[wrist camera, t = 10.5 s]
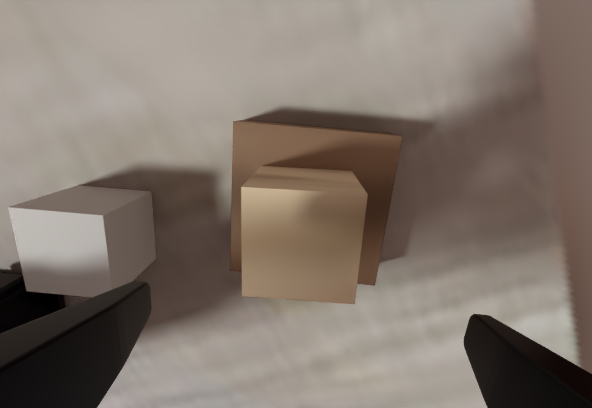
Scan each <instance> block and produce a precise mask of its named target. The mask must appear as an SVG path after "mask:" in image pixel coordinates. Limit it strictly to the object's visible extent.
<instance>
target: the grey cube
mask: <svg viewBox="0 0 592 408" xmlns="http://www.w3.org/2000/svg"><path fill="white" fill-rule="evenodd" d="M8 208H9V213H10V218H11V222H12V227H13V231H14V236H15V241H16V245H17V250H18V254H19V259H20V264H21V268H22V273H23V277H24V282H25V287H26V291H29V292H40V293H50V294H61V295H71V296H82V297H94V296H97V295H99V294H102V293H105V292H107V291H110V290H112V289H115V288H117V287H120V286H122V285H125V284H127V283H130V282H132V281H133V280H134V279H135V278H136V277H137V276H139V275H140V274H141V273H142V272H143V271H144V270H145V269H146V268H147V267H148V266H149V265H150V264H151V263H152V262H153V261H154V260H156V248H155V234H154V220H153V205H152V191H140V190H129V189H117V188H105V187H93V186H81V185H78V186H74V187H71V188H68V189H65V190H62V191H59V192H55V193H52V194H49V195H46V196H43V197H39V198H36V199H33V200H30V201H27V202H23V203H20V204H17V205H14V206H11V207H8Z"/></svg>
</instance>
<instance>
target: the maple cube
mask: <svg viewBox="0 0 592 408" xmlns="http://www.w3.org/2000/svg"><path fill="white" fill-rule="evenodd" d="M367 196H368V194H367V192H366V191H365V189H364V188H363V187H362V185H361V184H360V182H359V181H358V179H357V178H356V176H355V175H354V173H353V172H352V171H343V170H325V169H307V168H289V167H271V166H261V167H260V168H259V169H258V170H257V171H256V172H255V173H254V174H253V175H252V176H251V177H250V178H249V179H248V180H247V181H246V182H245V183H244V184H243V186H242V187H241V242H242V296H247V297H261V298H276V299H290V300H304V301H318V302H332V303H346V304H355V297H356V288H357V280H358V272H359V263H360V255H361V247H362V238H363V230H364V221H365V213H366V205H367Z"/></svg>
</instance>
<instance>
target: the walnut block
mask: <svg viewBox="0 0 592 408" xmlns="http://www.w3.org/2000/svg"><path fill="white" fill-rule="evenodd" d="M401 141H402V136H399V135H395V134H392V133H383V132H371V131H360V130H349V129H338V128H327V127H316V126H304V125H293V124H282V123H271V122H260V121H249V120H240V121H233V160H232V204H231V248H230V271H239V272H242V242H241V187H242V186H243V184H244V183H245V182H246V181H247V180H248V179H249V178H250V177H251V176H252V175H253V174H254V173H255V172H256V171H257V170H258V169H259V168H260V167H261V166H271V167H289V168H307V169H325V170H343V171H352V172H353V173H354V175H355V176H356V178H357V179H358V181H359V182H360V184H361V185H362V187H363V188H364V189H365V191H366V192H367V194H368V196H367V205H366V213H365V221H364V230H363V238H362V247H361V255H360V263H359V272H358V280H357V284H365V285H375V282H376V277H377V271H378V266H379V261H380V255H381V250H382V244H383V239H384V233H385V228H386V223H387V217H388V212H389V206H390V201H391V195H392V190H393V185H394V179H395V174H396V168H397V163H398V158H399V152H400V147H401Z"/></svg>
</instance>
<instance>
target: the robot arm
mask: <svg viewBox="0 0 592 408" xmlns="http://www.w3.org/2000/svg"><path fill="white" fill-rule="evenodd" d="M150 313H151V296H150V286H149V284H148V283H146V282H137V281H133V282H130V283H127V284H125V285H122V286H120V287H117V288H115V289H112V290H110V291H107V292H105V293H102V294H99V295H97V296H94V297H92V298H89V299H87V300H84V301H82V302H79V303H77V304H74V305H72V306H69V307H67V308H65V306H64V300H63V295H61V294H50V293H40V292H29V291H26V287H25V282H24V277H23V275H19V274H9V273H0V408H97V407H98V405H99V404H100V402H101V401H102V399H103V398H104V396H105V394H106V393H107V391H108V390H109V388H110V387H111V385H112V384H113V382H114V381H115V379H116V377H117V376H118V374H119V373H120V371H121V369H122V368H123V366H124V364H125V362H126V361H127V359H128V357H129V355H130V353H131V351H132V349H133V347H134V345H135V343H136V341H137V340H138V338H139V336H140V334H141V332H142V330H143V328H144V326H145V324H146V322H147V320H148V318H149V316H150ZM464 347H465V350H466V353H467V356H468V358H469V361H470V364H471V366H472V369H473V372H474V374H475V377H476V379H477V382H478V385H479V387H480V390H481V393H482V395H483V398H484V400H485V403H486V405H487V407H488V408H592V374H591V373H589V372H587V371H586V370H584V369H582V368H580V367H578V366H577V365H575V364H573V363H571V362H570V361H568V360H566V359H564V358H563V357H561V356H559V355H557V354H556V353H554V352H552V351H550V350H549V349H547V348H545V347H543V346H542V345H540V344H538V343H536V342H535V341H533V340H531V339H529V338H528V337H526V336H524V335H522V334H521V333H519V332H517V331H515V330H514V329H512V328H510V327H508V326H507V325H505V324H503V323H501V322H500V321H498V320H496V319H494V318H493V317H491V316H488V315H480V314H473V315H472V316H471V317H470V319H469V322H468V326H467V329H466V333H465V336H464Z"/></svg>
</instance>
